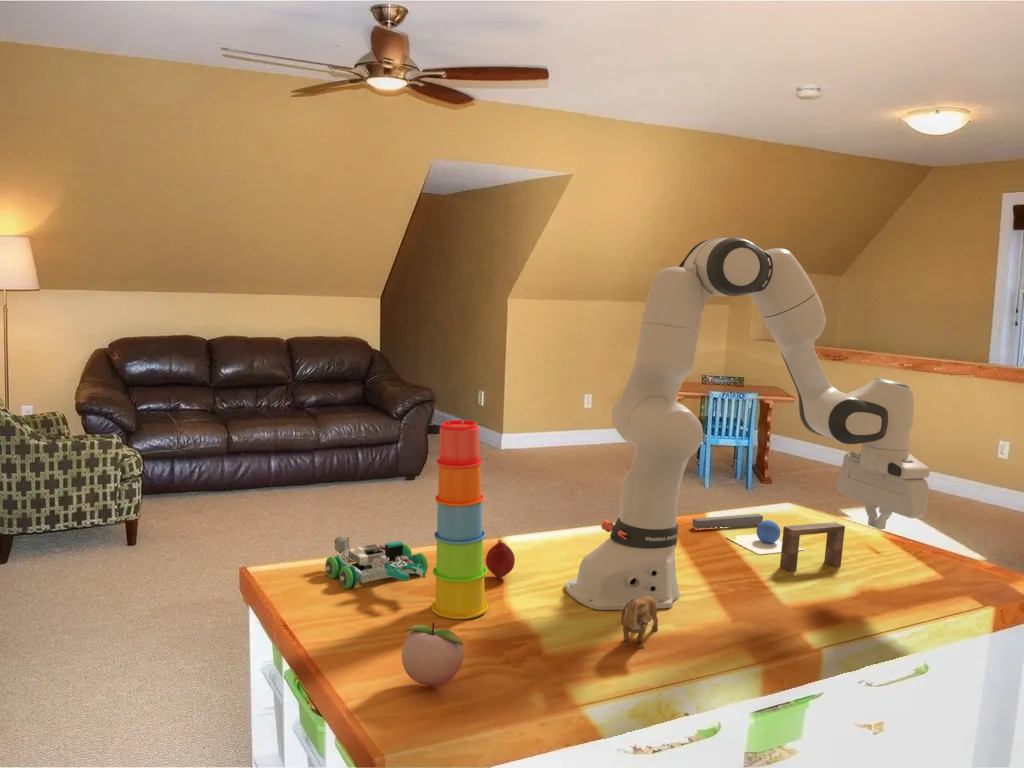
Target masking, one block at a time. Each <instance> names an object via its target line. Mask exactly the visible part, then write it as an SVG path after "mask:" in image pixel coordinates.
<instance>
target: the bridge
mask: <svg viewBox="0 0 1024 768" xmlns="http://www.w3.org/2000/svg"><path fill="white" fill-rule="evenodd" d="M845 529H846V526H845V525H843V524H841V523H839V522H836V521H835V522H834V521H833V522H820V523H808V524H797V525H785V526H783V531H782V538H781V539H782V549H781V553H780V563H779V568H781V569H783V570H786V571H787V572H797V568H798V557H799V551H798V549H799V548H800V537H801V536H804V535H818V534H819V535H820V534H826V540H825V541H826V542H825V550H824V551H825V552H824V560H823V562H824V563H825V564H827V565H829V566H832V567H834V568H835V567H841V566H842V558H843V550H844V549H843V548H844V540H845V539H844V538H845Z"/></svg>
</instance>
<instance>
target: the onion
mask: <svg viewBox="0 0 1024 768" xmlns="http://www.w3.org/2000/svg"><path fill="white" fill-rule="evenodd" d="M515 561H516V559H515V554H514V552H513V549H511V548H510V546H508V544H506V543H504V542H503V540H502V539H500V538H499V539H498V540H497V543H496V544H494V545H493V546H492V547H491V548H490V549H488V551H487V554H486V557H485V565H486V568H487V570H489V572H491V574H492V575H493V576H494V577H495V578H497V579H501V578H503V577H504V576H506V575H508V574H509V573H511V572H512V571H513V568H514V566H515V563H516V562H515Z"/></svg>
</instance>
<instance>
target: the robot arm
mask: <svg viewBox="0 0 1024 768" xmlns="http://www.w3.org/2000/svg"><path fill="white" fill-rule="evenodd" d="M745 295H748V296H749V297H750V298H751V299H752V300H753V303H755V305H756V307H757V310H758V312H759V313H760V316H761V318H762V320H763V322H764V324H765V326H766V328H767V329H768V331H769V333H770V335H771V337H772V339H773V340H774V342H775V343H776V345H777V347H778V350H779V351H780V354H781V357H782V359H783V362H784V363H785V365H786V368H787V371H788V373H789V375H790V377H791V381H792V382H793V385H794V386H795V390H796V393H797V397H798V408H799V409H798V411H799V417H800V421H801V422H802V424H803V426H804V428H806V429H807V430H808V431H809V432H811V433H813V434H815V435H818V436H822V437H826V438H828V439H830V440H832V441H835V442H838V443H840V444H843V445H858V444H861V446H860V453H858V452H856V451H852V450H851V451H849V452H847V453H846V454H844V456H843V460H842V464H841V467H840V470H839V475H838V480H837V490H838V493H839V494H840V495H843V496H845V497H849V498H852V499H854V500H857V501H860V502H863V503H864V510H865V512H866V514H867V517H868V520H867V525H868V526H870V527H872V528H874V529H878V530H885V529H886V526H887V525H886V524H887V521H888V519H890V517H891V516H892V514H893V513H894V514H896V515H900V516H902V517H905V518H909V519H920V518H923V517H924V516H925V515H926V514H927V511H928V506H929V497H930V496H929V493H930V492H929V490H930V489H929V483H928V482H927V480H926V479H927V478H929V476H930V473H931V470H930V467H929V466H928V465H926V464H924V463H923V462H921V461H920V460H918V459H917V458H916V457H915V456H914V455H913V454H910V450H911V446H910V441H909V438H910V433H911V430H912V429H913V423H914V422H913V421H914V406H915V403H914V402H915V401H914V399H915V398H914V394H913V391H912V388H911V387H910V386H909V385H908V384H905V383H901V382H897V381H893V380H889V379H886V378H881V377H880V378H879V377H878V378H873V379H872V380H871V381H870V382H868V383H867V384H865V385H863V386H862V387H860V388H858V389H856V390H853V391H850V392H846V393H845V392H842V391H840V390H839V389H837V388H836V387H835V386H833V385H832V384H831V383H830V382H829V380H828V378H827V376H826V374H825V371H824V368H823V367H822V365H821V361H820V360H819V357H818V354H817V352H816V347H815V343H816V341H817V339H818V338H820V336H821V335H822V334H823V332H824V329H825V327H826V324H827V316H826V313H825V309H824V306H823V303H822V300H821V298H820V296H819V294H818V292H817V290H816V288H815V286H814V285H813V282H812V281H811V279H810V277H809V275H808V274H807V272H806V271H805V269H804V268H803V266H802V265H801V264H800V262H799V261H798V260H797V258H796V256H795V255H793V253H791V252H790V251H789V250H787V249H785V248H781V247H780V248H778V247H777V248H769V249H766V250H764V249H762V248H760V247H759V246H757V245H756V244H755V243H753V242H751V241H750V240H747V239H744V238H741V237H726V236H720V237H719V236H718V237H715V238H711V239H706V240H703V241H700V242H699V243H698V244H695V246H693V247H692V249H690V250H689V252H688V253H687V255H685V257H684V259H683V260H682V262H681V263H680V264H679V265H678V266H669V267H665V268H663V269H660V270H659V271H658V272H657V273H655V275H654V276H653V279H652V280H651V284H650V287H649V290H648V294H647V296H646V299H645V304H644V307H643V312H642V319H641V324H640V329H639V330H640V331H639V338H638V344H637V349H636V355H635V360H634V364H633V366H632V370H631V372H630V375H629V378H628V380H627V382H626V385H625V388H624V390H623V393H622V395H621V396H620V397H619V398H618V399H617V400H616V402H615V403H614V405H613V408H612V411H611V421H612V425H613V426H614V429H615V430H616V432H617V433H618V434H619V436H621V438H622V439H623V440H624V441H625V442H627V443H629V444H631V445H632V446H634V456H633V459H632V463H631V466H630V468H629V471H628V472H627V474H626V475H625V476H624V477H623V479H622V482H621V492H620V503H619V504H620V506H619V507H620V508H619V517H618V518H617V520H616V521H615V523H614V524H613V522H610V520H607V519H604V520H603V521H602V522H601V524H600V528H601V529H602V530H603V531H605V532H606V533H610V535H609V537H608V539H605V541H604V542H602V543H601V544H600V545H598V546H597V547H596V548H595V549H593V550H592V551H591V552H589V553H588V554H586V555H585V556H584V557H582V560H581V561H580V564H579V568H578V570H577V571H578V572H577V577H576V578H571V579H567V580H566V582H565V586H564V587H565V590H566V592H567V593H568V595H569V596H571V597H572V598H573V599H574V600H576V601H577V602H578V603H579V604H582V605H583V606H586V607H587V608H591V609H593V610H597V611H610V610H611V611H615V610H617V611H618V610H619V611H620V610H623V609H624V607H625V606H626V604H627V603H628V602H629V601H631V600H633V599H639V598H640V597H644V596H650V597H652V598H653V599H654V600H655V602H656V608H657V609H670V608H672V607H673V602H674V601H675V600H676V599H678V597H680V591H679V587H678V582H677V573H676V557H675V556H676V554H675V553H676V547H677V543H678V535H679V534H678V531H679V524H678V523H677V517H678V508H679V506H678V505H679V493H680V488H681V483H682V480H683V475H684V473H685V470H686V467H687V466H688V462H689V460H690V458H691V457H692V456H694V455H695V453H696V452H697V451H698V450H699V448H700V447H701V444H702V442H703V436H704V431H703V429H704V428H703V425H702V422H701V421H700V419H699V418H698V417H697V416H696V415H695V414H694V413H693V411H691V410H690V409H689V408H688V407H687V406H685V405H684V404H682V403H680V402H678V401H677V397H678V395H679V393H680V390H681V387H682V385H683V383H684V381H685V380H686V378H687V377H688V376H690V374H691V373H692V372H693V370H694V367H695V363H696V362H695V361H696V354H697V348H698V342H699V336H700V329H701V322H702V313H703V311H704V308H705V307H706V304H707V302H708V301H709V300H710V299H711V297H713V296H714V297H715V296H716V297H741V296H745ZM877 509H878V513H880V514H879V516H878V514H877Z"/></svg>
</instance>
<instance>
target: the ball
mask: <svg viewBox="0 0 1024 768" xmlns="http://www.w3.org/2000/svg"><path fill="white" fill-rule="evenodd" d="M756 534H757V536H758V538H759V539H760V540H761V541H762V542H764V543H768V544H770V543H774V542H776V541H777V540H778V539H779V538H780V536H781V529H780V526H779V524H778V523H776V522H775V521H773V520H768V519H766V520H763V522H761V523H760V524H759V525H758V526H756Z"/></svg>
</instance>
